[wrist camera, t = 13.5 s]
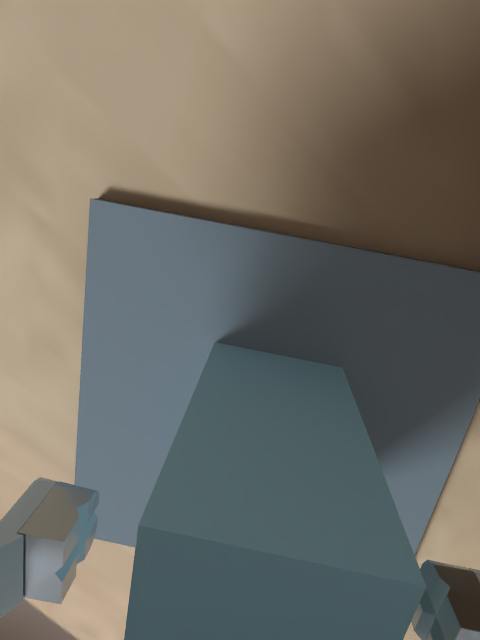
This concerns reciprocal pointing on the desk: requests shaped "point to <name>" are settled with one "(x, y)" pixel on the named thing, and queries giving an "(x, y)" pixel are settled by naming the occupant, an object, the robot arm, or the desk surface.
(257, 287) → the slate mat
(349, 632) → the light blue block
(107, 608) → the desk surface
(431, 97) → the desk surface
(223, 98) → the desk surface
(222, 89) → the desk surface
